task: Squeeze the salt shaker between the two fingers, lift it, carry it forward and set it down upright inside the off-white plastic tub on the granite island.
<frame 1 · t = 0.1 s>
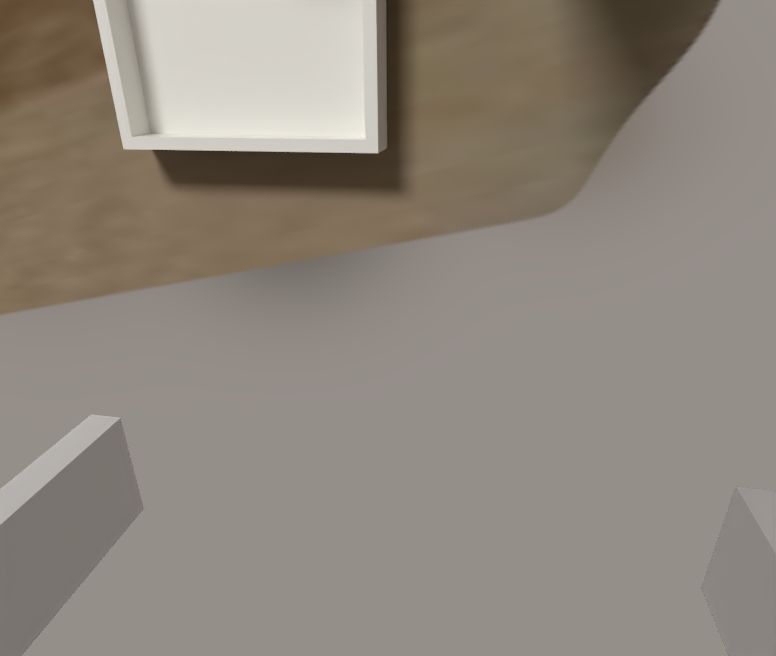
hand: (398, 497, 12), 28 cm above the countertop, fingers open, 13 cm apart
bin: (252, 35, 34), on the countertop
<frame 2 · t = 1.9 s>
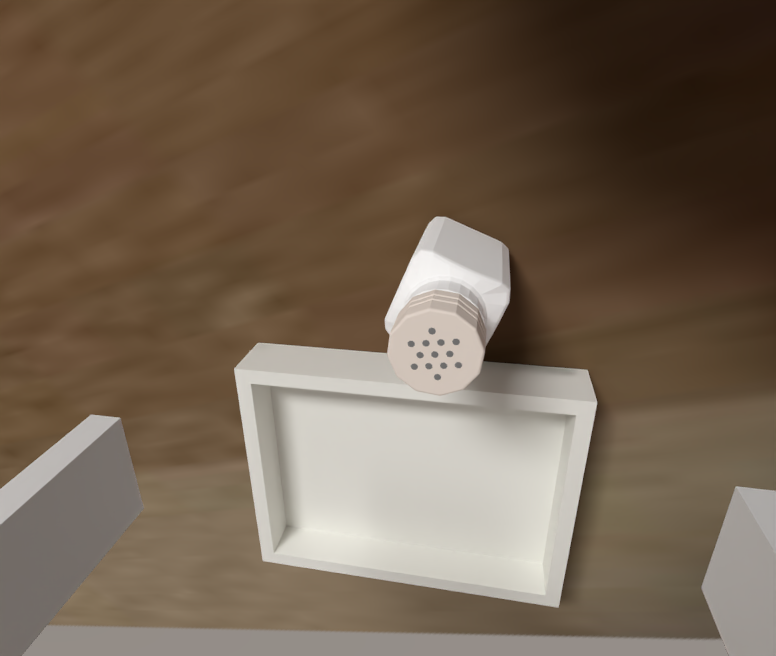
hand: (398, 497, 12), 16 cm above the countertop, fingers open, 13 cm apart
salt shaker: (456, 262, 26), on the countertop
bin: (412, 458, 31), on the countertop
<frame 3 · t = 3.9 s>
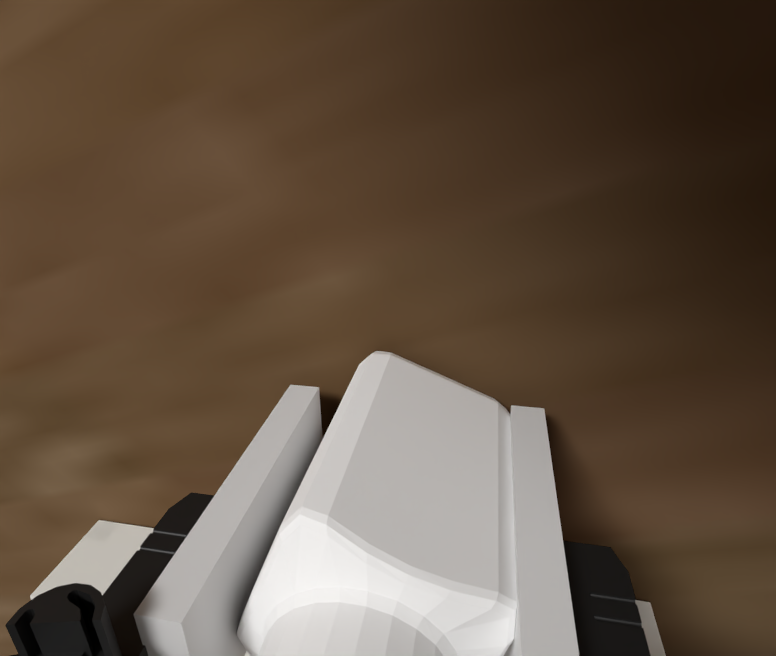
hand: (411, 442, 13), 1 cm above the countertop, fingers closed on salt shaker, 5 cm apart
salt shaker: (416, 421, 14), on the countertop, touching gripper
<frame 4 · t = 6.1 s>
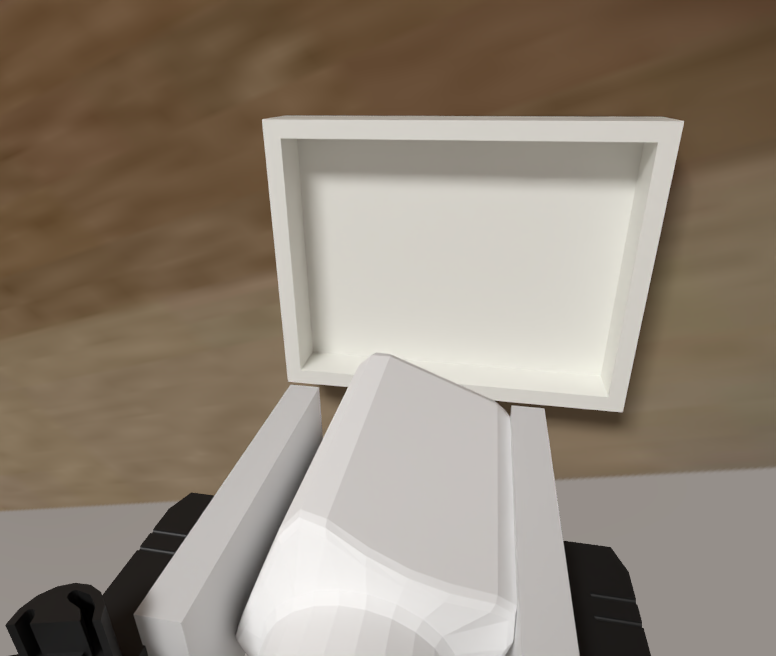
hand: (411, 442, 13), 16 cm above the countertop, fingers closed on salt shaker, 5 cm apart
salt shaker: (415, 422, 14), point 15 cm above the countertop, touching gripper
bin: (456, 255, 28), on the countertop
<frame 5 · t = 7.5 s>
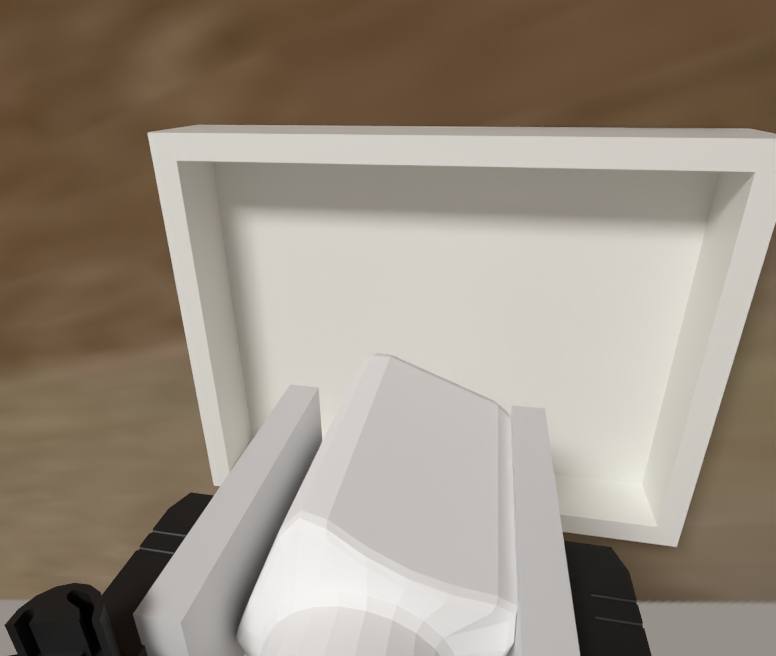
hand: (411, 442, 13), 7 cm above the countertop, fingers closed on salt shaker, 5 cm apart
salt shaker: (416, 423, 14), point 7 cm above the countertop, touching gripper
bin: (441, 319, 20), on the countertop
when the fingers open (4 cm above the countertop, at t = 8.5 s): salt shaker drops 2 cm, resting on bin.
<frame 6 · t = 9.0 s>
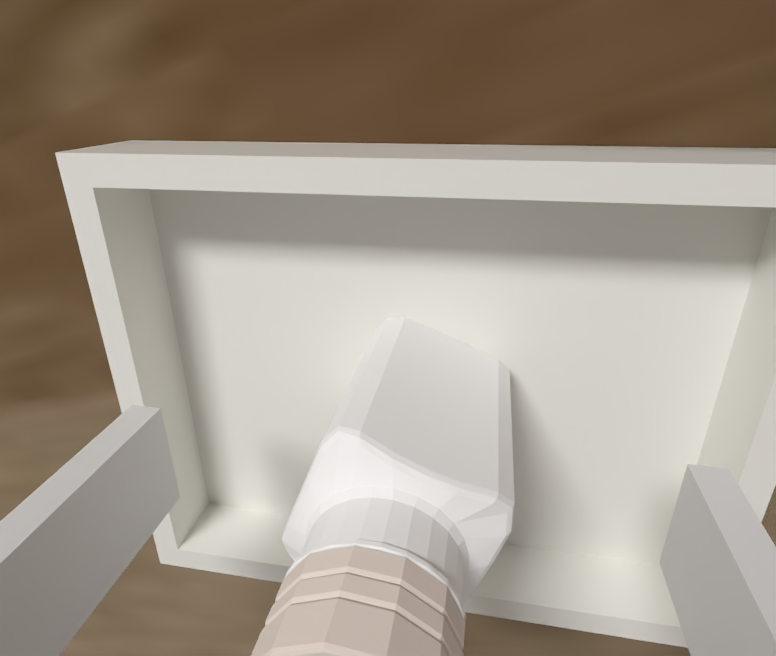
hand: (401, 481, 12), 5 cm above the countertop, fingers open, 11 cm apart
salt shaker: (426, 380, 16), point 1 cm above the countertop, touching bin
bin: (428, 371, 17), on the countertop
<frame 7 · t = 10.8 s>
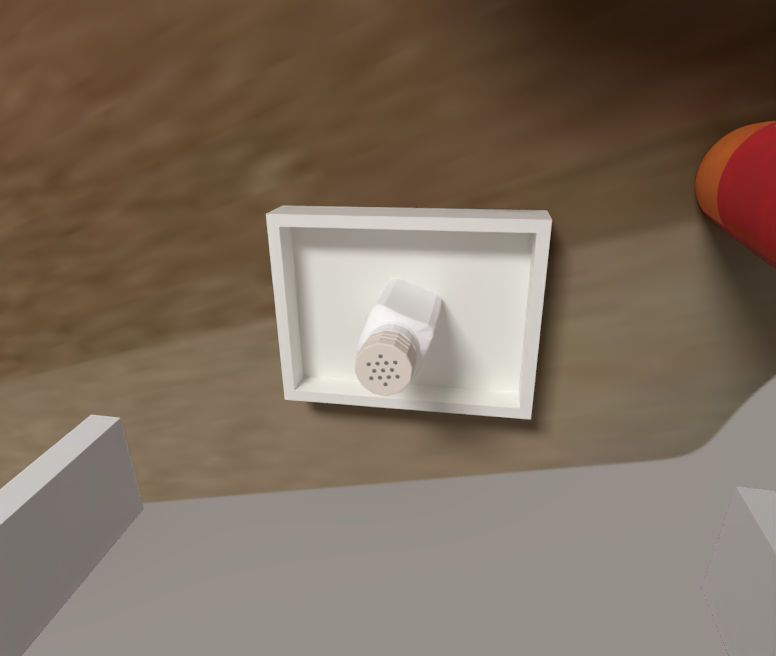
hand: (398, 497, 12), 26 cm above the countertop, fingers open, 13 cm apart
salt shaker: (408, 307, 37), point 1 cm above the countertop, touching bin
coffee cup: (748, 175, 31), on the countertop
bin: (409, 304, 38), on the countertop
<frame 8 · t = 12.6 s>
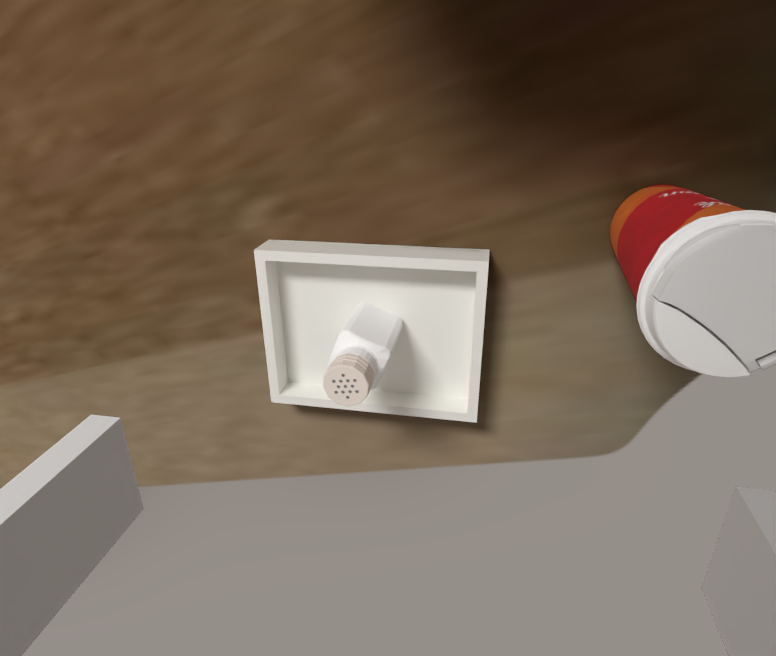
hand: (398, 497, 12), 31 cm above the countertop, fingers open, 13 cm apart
salt shaker: (375, 326, 44), point 1 cm above the countertop, touching bin
coffee cup: (653, 225, 37), on the countertop
bin: (376, 323, 44), on the countertop
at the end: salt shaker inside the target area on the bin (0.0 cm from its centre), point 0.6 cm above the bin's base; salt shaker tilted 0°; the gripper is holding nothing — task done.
